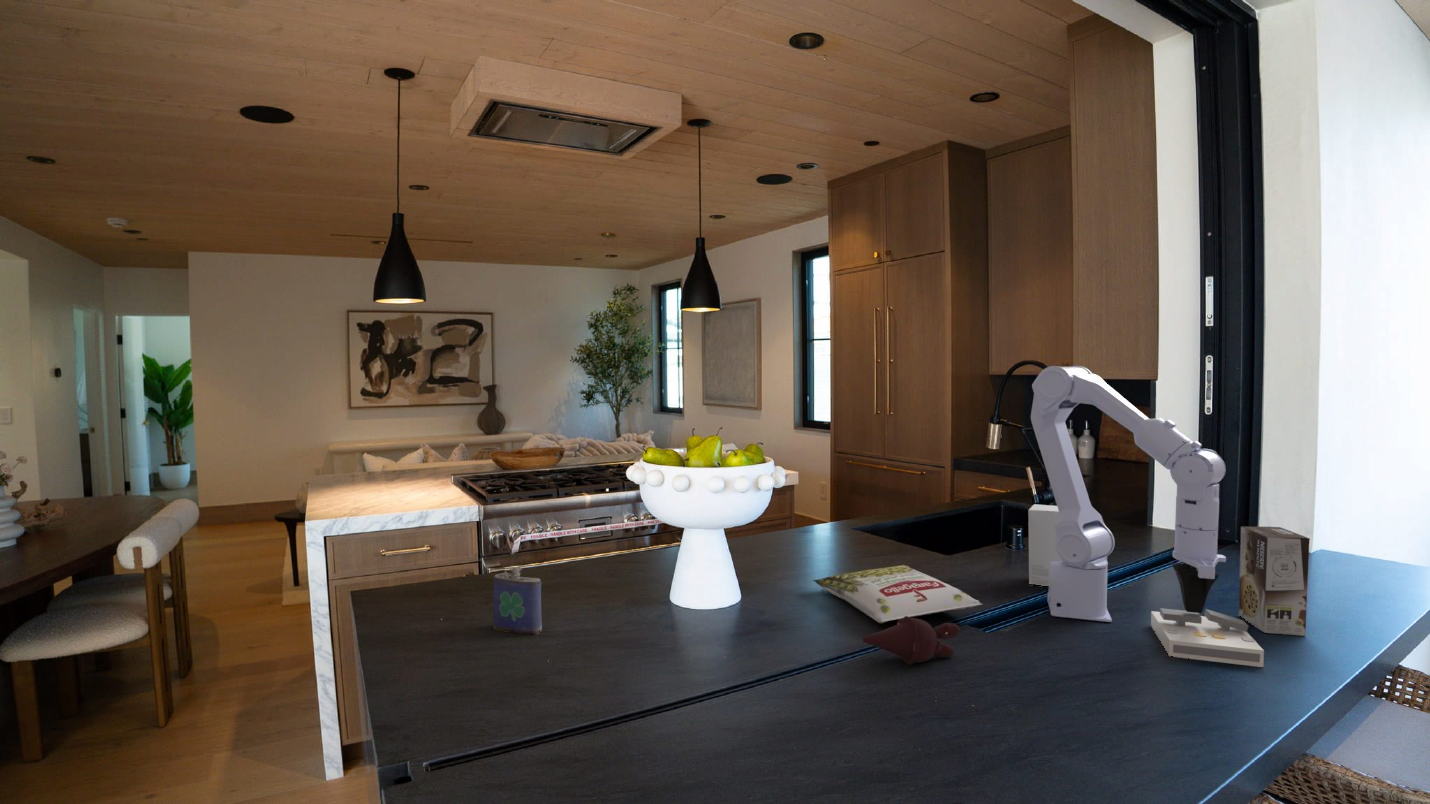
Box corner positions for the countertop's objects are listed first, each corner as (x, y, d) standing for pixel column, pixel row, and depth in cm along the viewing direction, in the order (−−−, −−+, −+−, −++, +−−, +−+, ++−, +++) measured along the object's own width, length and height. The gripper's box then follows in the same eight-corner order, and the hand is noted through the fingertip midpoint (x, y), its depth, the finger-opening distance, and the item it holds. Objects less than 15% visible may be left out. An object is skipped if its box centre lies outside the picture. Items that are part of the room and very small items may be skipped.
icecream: (875, 633, 106) (973, 635, 109) (858, 604, 113) (950, 607, 116) (867, 675, 108) (962, 676, 111) (850, 644, 115) (941, 646, 118)
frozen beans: (903, 552, 153) (985, 587, 129) (903, 580, 153) (986, 620, 129) (811, 565, 146) (880, 604, 122) (812, 594, 146) (881, 639, 123)
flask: (545, 630, 126) (543, 567, 125) (534, 636, 123) (533, 572, 122) (499, 624, 129) (498, 562, 128) (488, 629, 126) (486, 566, 126)
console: (1169, 656, 114) (1169, 639, 114) (1150, 625, 127) (1151, 610, 127) (1263, 667, 110) (1264, 649, 109) (1234, 634, 123) (1235, 618, 123)
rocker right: (1207, 624, 118) (1210, 614, 117) (1202, 618, 120) (1205, 608, 120) (1245, 636, 116) (1248, 626, 116) (1239, 630, 119) (1242, 620, 118)
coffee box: (1307, 636, 122) (1311, 538, 121) (1263, 633, 123) (1266, 536, 122) (1277, 617, 131) (1281, 526, 130) (1236, 615, 132) (1239, 524, 131)
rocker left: (1163, 624, 120) (1163, 613, 120) (1159, 618, 122) (1160, 608, 122) (1201, 628, 118) (1201, 617, 118) (1196, 622, 121) (1197, 611, 120)
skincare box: (1076, 583, 151) (1078, 506, 150) (1072, 592, 146) (1074, 512, 145) (1032, 577, 156) (1033, 502, 155) (1026, 585, 150) (1027, 508, 149)
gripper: (1240, 539, 111) (1236, 629, 111) (1213, 519, 124) (1210, 600, 125) (1185, 535, 113) (1181, 623, 114) (1164, 516, 127) (1161, 595, 127)
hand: (1193, 611), depth 119 cm, fingers closed
